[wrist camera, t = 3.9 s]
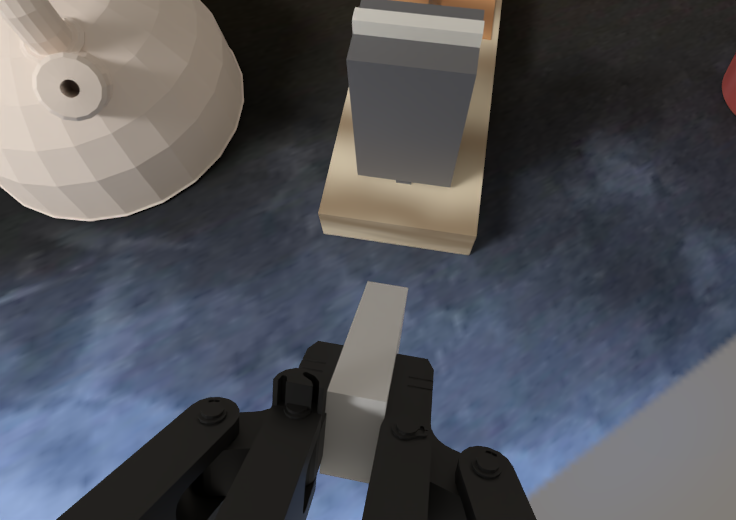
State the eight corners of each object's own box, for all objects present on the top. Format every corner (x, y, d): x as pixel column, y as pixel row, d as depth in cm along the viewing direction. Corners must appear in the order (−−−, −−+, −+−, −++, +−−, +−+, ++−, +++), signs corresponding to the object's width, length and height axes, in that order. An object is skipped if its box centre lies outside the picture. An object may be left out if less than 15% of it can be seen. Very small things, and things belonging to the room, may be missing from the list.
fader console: (468, 255, 34) (476, 235, 31) (323, 233, 35) (318, 212, 32) (499, -20, 43) (508, -55, 40) (385, -31, 44) (385, -66, 41)
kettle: (30, 277, 34) (-308, 100, 18) (-41, 75, 41) (-330, -189, 25) (292, 145, 38) (217, -109, 21) (185, -20, 45) (66, -310, 28)
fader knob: (450, 187, 32) (479, 61, 22) (357, 174, 32) (345, 46, 22) (457, 135, 33) (487, -5, 23) (368, 124, 34) (361, -18, 24)
